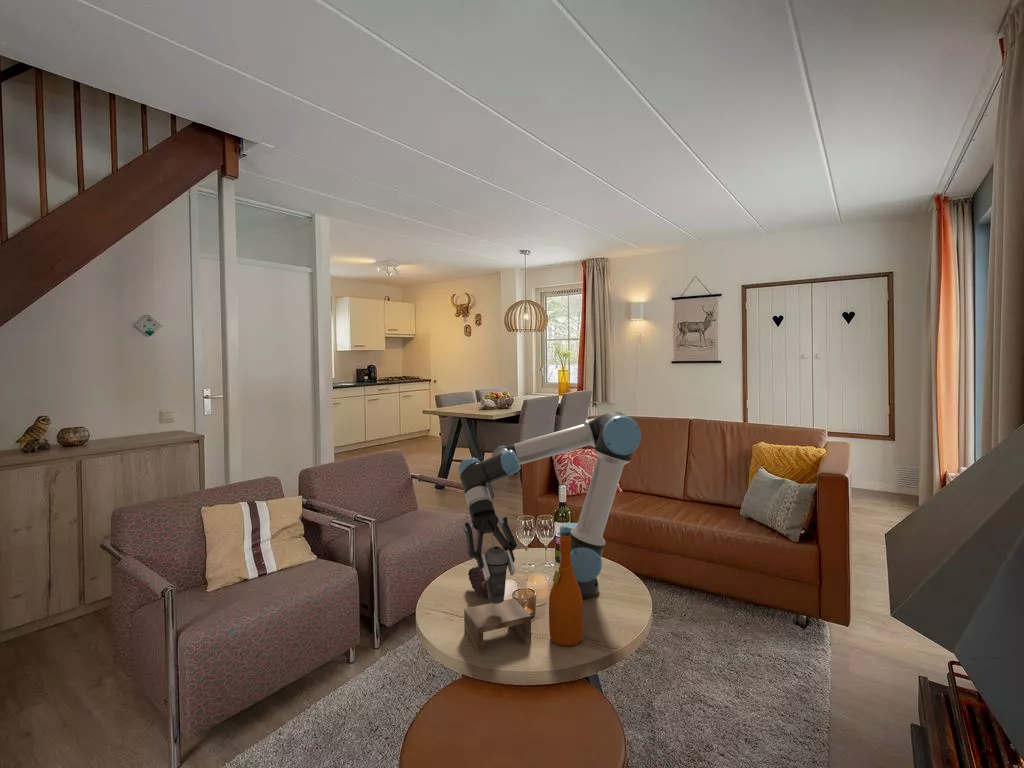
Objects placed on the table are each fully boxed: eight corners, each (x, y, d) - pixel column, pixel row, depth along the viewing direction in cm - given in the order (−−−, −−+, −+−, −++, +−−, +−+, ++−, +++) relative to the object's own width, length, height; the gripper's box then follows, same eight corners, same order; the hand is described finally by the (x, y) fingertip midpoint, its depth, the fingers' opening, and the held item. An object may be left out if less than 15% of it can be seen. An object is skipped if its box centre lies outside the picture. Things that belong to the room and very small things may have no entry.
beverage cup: (505, 607, 144) (505, 537, 143) (480, 604, 145) (480, 535, 144) (510, 595, 151) (510, 528, 150) (487, 593, 152) (486, 527, 151)
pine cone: (459, 588, 180) (459, 561, 180) (483, 581, 186) (482, 554, 186) (487, 608, 166) (487, 577, 166) (512, 599, 172) (511, 570, 172)
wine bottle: (554, 627, 154) (553, 529, 152) (586, 633, 150) (586, 532, 149) (544, 644, 145) (543, 540, 143) (578, 651, 141) (578, 544, 140)
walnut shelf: (514, 622, 157) (513, 598, 157) (531, 641, 146) (530, 615, 146) (464, 633, 151) (464, 608, 150) (478, 655, 140) (478, 628, 139)
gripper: (506, 506, 165) (528, 575, 151) (446, 514, 157) (464, 588, 143) (513, 494, 160) (536, 564, 146) (451, 502, 152) (470, 576, 138)
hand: (500, 575), depth 144 cm, fingers closed on beverage cup, 7 cm apart
